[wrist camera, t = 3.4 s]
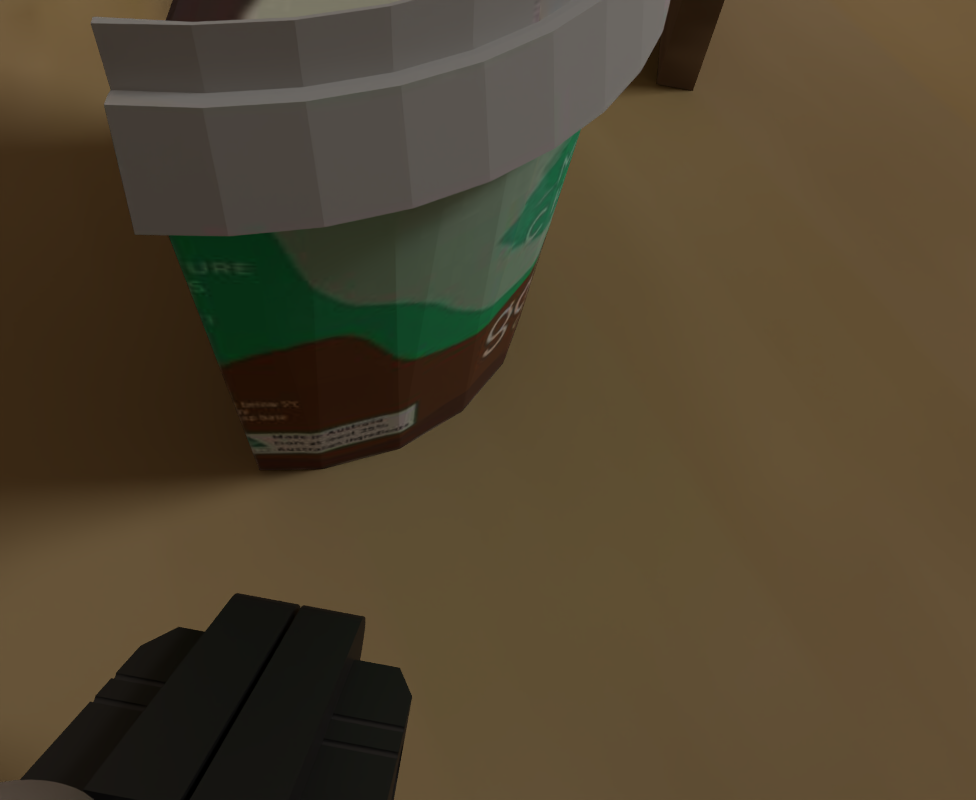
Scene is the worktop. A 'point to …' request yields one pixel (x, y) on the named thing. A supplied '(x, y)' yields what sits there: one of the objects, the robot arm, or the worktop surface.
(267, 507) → the worktop surface
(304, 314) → the food container
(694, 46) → the bay
